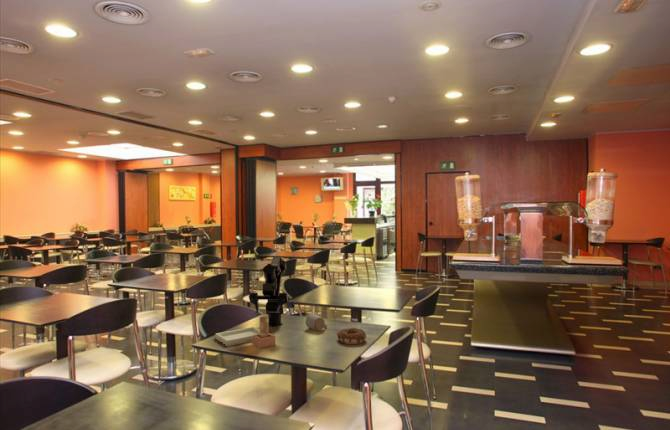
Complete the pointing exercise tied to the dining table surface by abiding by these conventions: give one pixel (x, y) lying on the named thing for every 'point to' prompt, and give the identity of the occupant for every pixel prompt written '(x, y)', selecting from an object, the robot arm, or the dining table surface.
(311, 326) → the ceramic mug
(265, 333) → the dowel
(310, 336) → the dining table surface
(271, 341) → the square frame
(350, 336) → the donut
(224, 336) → the tray
